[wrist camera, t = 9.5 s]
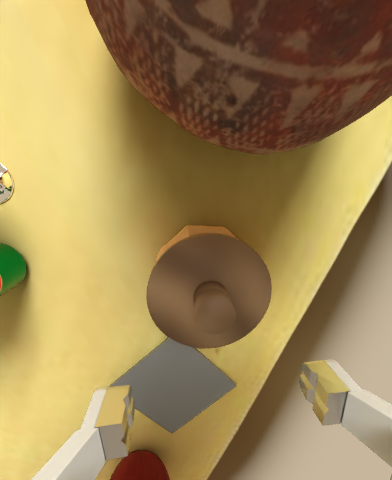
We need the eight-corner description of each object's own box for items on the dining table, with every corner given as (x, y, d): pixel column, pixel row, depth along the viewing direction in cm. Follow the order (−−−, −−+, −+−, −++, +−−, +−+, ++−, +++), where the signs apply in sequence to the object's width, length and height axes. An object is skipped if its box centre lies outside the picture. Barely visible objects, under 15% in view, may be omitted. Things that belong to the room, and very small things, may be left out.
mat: (172, 430, 31) (172, 433, 30) (108, 386, 28) (108, 389, 27) (235, 383, 29) (236, 385, 29) (176, 331, 26) (176, 333, 26)
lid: (216, 358, 22) (224, 396, 18) (124, 303, 19) (110, 333, 15) (290, 278, 20) (317, 301, 16) (199, 206, 17) (204, 213, 13)
